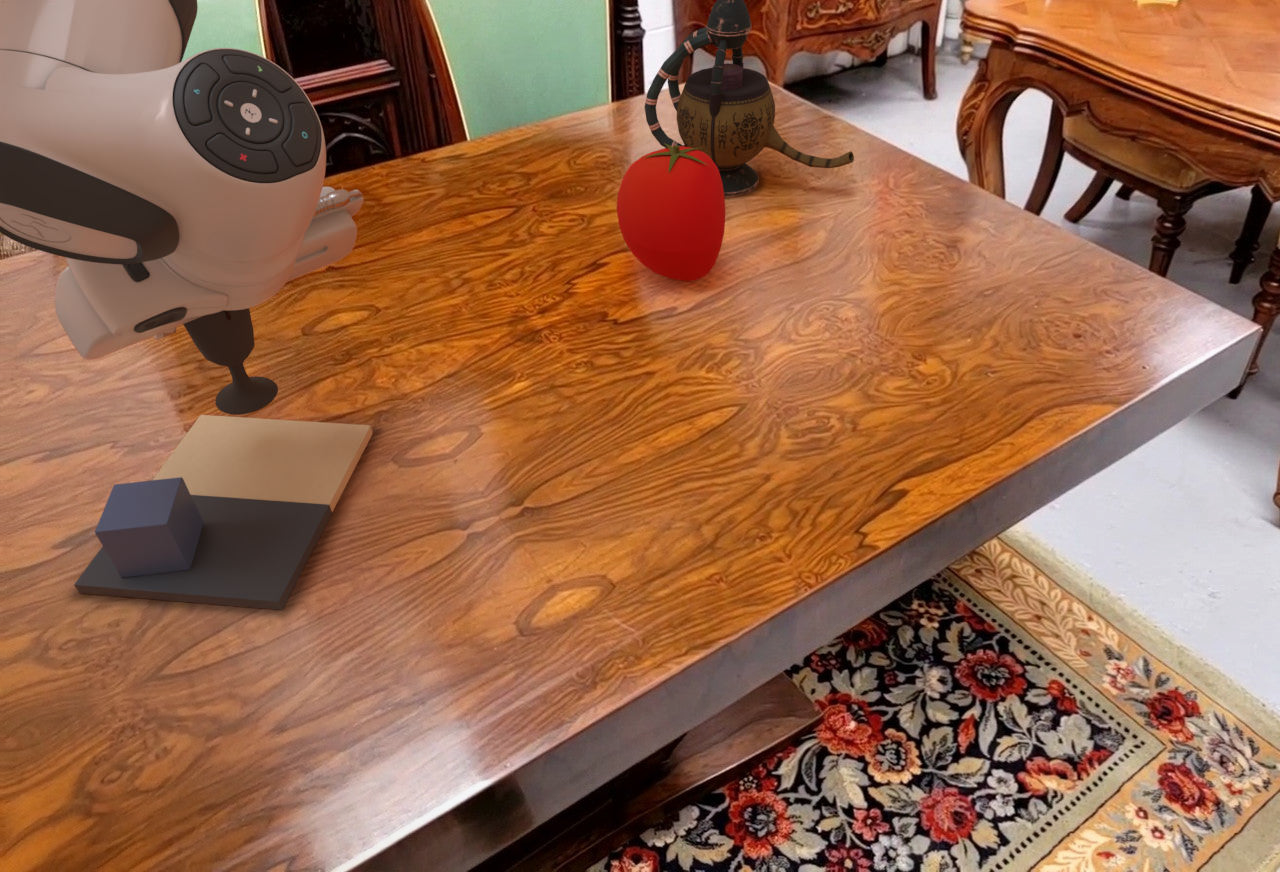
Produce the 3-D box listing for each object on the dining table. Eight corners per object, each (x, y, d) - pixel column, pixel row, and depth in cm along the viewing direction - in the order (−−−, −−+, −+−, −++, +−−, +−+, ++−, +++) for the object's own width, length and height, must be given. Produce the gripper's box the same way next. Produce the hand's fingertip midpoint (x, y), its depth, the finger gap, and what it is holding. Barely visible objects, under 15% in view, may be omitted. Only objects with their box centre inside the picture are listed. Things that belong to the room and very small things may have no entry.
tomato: (748, 275, 102) (756, 151, 93) (669, 313, 97) (669, 185, 88) (674, 233, 110) (674, 115, 101) (596, 266, 105) (589, 144, 95)
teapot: (671, 153, 127) (671, -33, 111) (856, 176, 120) (883, -18, 105) (642, 192, 118) (637, -4, 103) (840, 219, 112) (866, 14, 96)
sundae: (225, 433, 73) (155, 265, 63) (192, 395, 77) (122, 231, 67) (303, 398, 76) (248, 233, 67) (268, 362, 80) (211, 201, 71)
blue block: (121, 578, 70) (94, 532, 66) (138, 530, 73) (113, 484, 70) (190, 570, 70) (166, 523, 67) (204, 522, 74) (182, 476, 71)
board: (79, 593, 70) (73, 584, 69) (204, 422, 85) (200, 414, 84) (282, 610, 68) (278, 601, 68) (373, 433, 83) (370, 424, 83)
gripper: (344, 144, 65) (312, 224, 77) (31, 250, 54) (50, 323, 66) (391, 224, 65) (352, 291, 77) (89, 344, 55) (98, 400, 67)
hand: (210, 307), depth 72 cm, fingers closed on sundae, 6 cm apart
